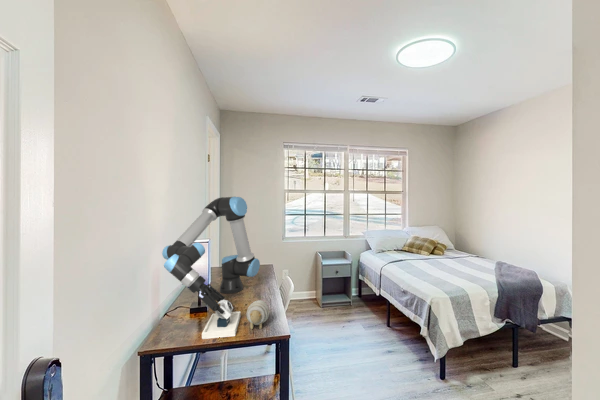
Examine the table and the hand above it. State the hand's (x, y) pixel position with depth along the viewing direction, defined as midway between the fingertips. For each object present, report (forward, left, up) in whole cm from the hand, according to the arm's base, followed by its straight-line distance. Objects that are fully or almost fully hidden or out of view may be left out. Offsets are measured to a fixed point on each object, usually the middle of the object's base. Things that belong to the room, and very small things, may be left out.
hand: (230, 313), depth 120 cm
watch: (0, -3, -5) cm, 6 cm away
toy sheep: (+1, +13, -6) cm, 15 cm away
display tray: (0, -4, -6) cm, 7 cm away
